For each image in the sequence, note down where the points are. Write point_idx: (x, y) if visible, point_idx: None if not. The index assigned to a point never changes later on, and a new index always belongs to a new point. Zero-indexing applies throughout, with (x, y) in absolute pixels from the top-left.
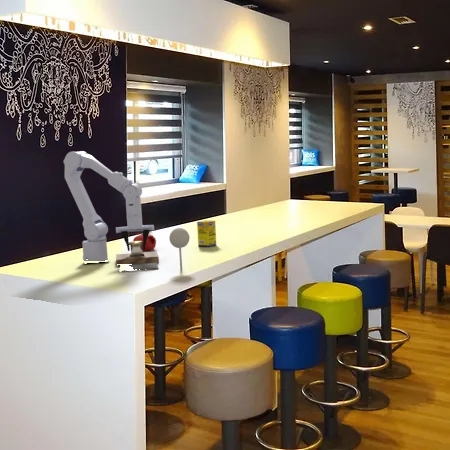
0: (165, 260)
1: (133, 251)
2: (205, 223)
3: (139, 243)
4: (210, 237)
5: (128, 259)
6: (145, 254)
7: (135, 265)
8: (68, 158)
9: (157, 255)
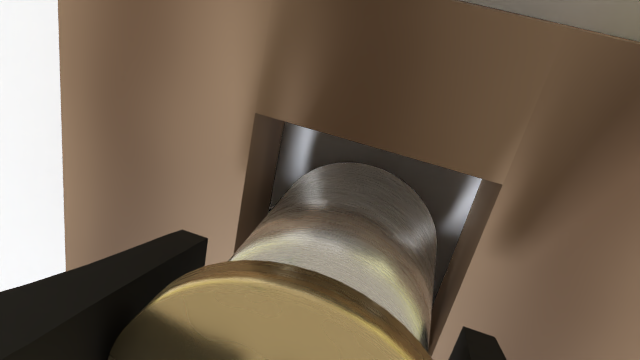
0: (46, 60)
1: (402, 261)
2: None
3: (212, 281)
4: None
5: (595, 34)
6: (217, 235)
7: None
8: None
9: (68, 27)
